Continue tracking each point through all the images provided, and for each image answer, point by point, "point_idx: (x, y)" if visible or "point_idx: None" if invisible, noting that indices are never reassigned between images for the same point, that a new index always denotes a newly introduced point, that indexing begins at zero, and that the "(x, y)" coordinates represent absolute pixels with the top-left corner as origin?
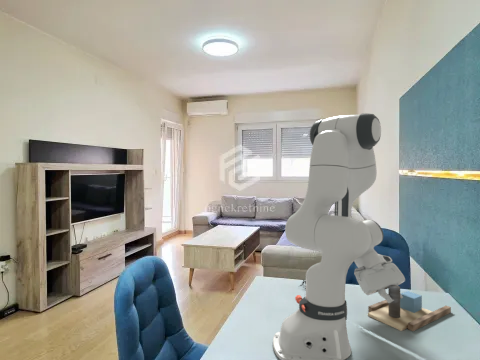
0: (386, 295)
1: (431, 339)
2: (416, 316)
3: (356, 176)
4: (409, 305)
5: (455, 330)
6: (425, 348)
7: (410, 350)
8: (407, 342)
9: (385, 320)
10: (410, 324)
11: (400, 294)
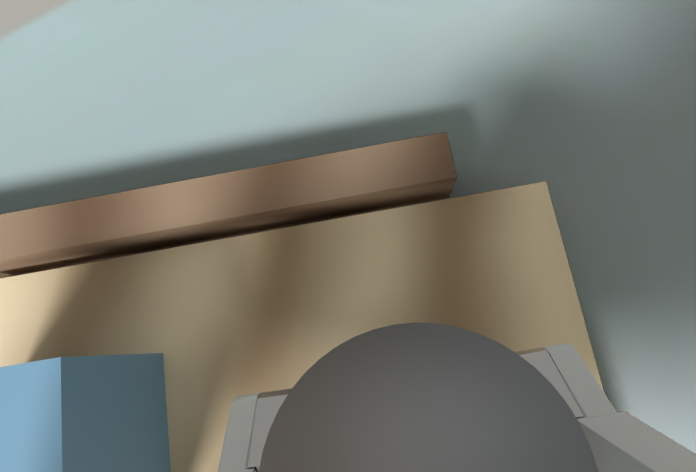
0: (660, 448)
1: (374, 68)
2: (213, 287)
3: None
4: (132, 411)
5: (95, 94)
6: (520, 5)
7: (646, 19)
8: (583, 95)
9: (585, 348)
10: (451, 155)
11: (247, 433)
